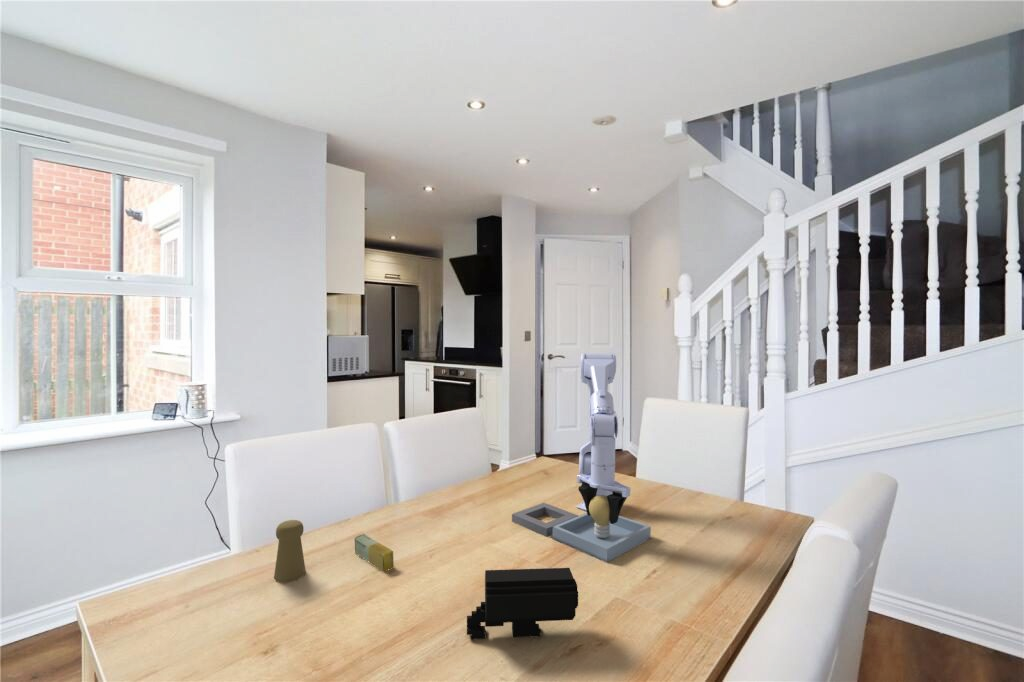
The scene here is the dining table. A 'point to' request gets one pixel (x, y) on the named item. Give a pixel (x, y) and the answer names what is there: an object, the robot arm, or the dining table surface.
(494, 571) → the security camera
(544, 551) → the dining table surface
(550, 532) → the socket block
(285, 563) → the cork
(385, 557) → the medication box
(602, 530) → the light bulb
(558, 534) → the parts tray
